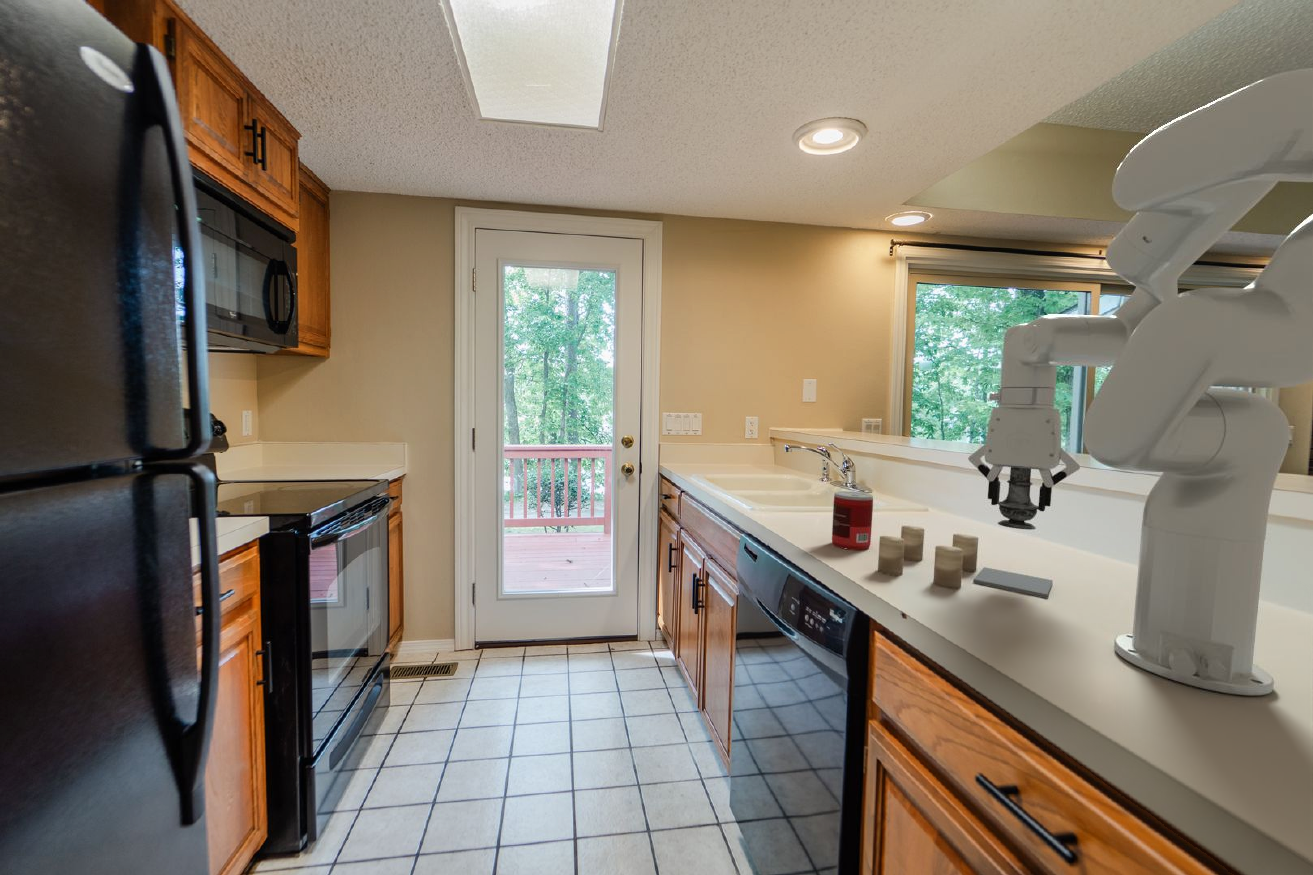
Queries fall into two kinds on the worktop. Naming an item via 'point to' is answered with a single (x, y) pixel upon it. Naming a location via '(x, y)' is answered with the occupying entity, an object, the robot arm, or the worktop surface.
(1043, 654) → the worktop surface
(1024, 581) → the coaster
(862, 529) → the canned food
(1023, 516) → the salt shaker
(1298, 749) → the worktop surface
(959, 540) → the dowel back right
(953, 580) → the dowel front right
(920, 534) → the dowel back left
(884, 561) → the dowel front left
